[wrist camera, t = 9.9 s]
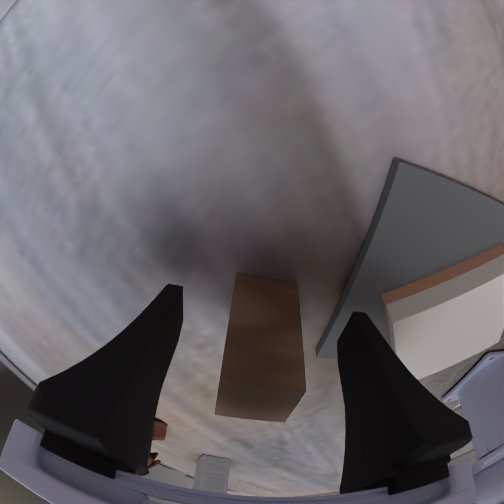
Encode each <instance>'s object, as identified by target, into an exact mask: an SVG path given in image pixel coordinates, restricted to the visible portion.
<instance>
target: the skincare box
mask: <svg viewBox="0 0 504 504" xmlns="http://www.w3.org/2000/svg"><path fill="white" fill-rule="evenodd" d="M229 464H230V460H229V459H226V458H220V457H214V456H209V455H202V456H201V457H200V459H199V460H198V461H197V464H196V470H195V477H194V485H193V489H194V490H200V491H206V492H213V493H221V494H227V485H228V475H229Z"/></svg>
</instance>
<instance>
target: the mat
mask: <svg viewBox="0 0 504 504" xmlns="http://www.w3.org/2000/svg"><path fill="white" fill-rule="evenodd" d="M500 244H502V245H503V246H504V203H502V202H500V201H498V200H496V199H494V198H492V197H490V196H488V195H486V194H484V193H482V192H480V191H478V190H475V189H473V188H471V187H469V186H467V185H464V184H462V183H460V182H457V181H455V180H453V179H450V178H448V177H445V176H443V175H440V174H438V173H435V172H433V171H430V170H428V169H425V168H422V167H419V166H417V165H414V164H411V163H408V162H405V161H402V160H400V159H397V158H394V160H393V163H392V166H391V169H390V172H389V176H388V179H387V182H386V185H385V188H384V191H383V194H382V197H381V199H380V202H379V205H378V208H377V211H376V213H375V216H374V219H373V222H372V224H371V227H370V230H369V232H368V235H367V237H366V240H365V242H364V245H363V247H362V250H361V252H360V255H359V257H358V260H357V262H356V264H355V267H354V269H353V272H352V274H351V276H350V278H349V281H348V283H347V285H346V288H345V290H344V292H343V294H342V296H341V299H340V301H339V303H338V305H337V307H336V309H335V311H334V313H333V316H332V318H331V320H330V322H329V324H328V326H327V328H326V330H325V332H324V334H323V336H322V338H321V340H320V342H319V344H318V346H317V348H316V357H325V358H338V357H337V340H338V338H339V337H340V335H341V333H342V331H343V329H344V328H345V326H346V324H347V322H348V320H349V318H350V316H351V315H352V313H353V311H356V312H365V313H366V314H367V315H368V316H369V318H370V319H371V320H372V322H373V323H374V324H375V326H376V327H377V329H378V330H379V332H380V333H381V334H382V336H383V337H384V339H385V340H386V341H387V343H388V344H389V338H388V331H387V324H386V318H385V312H384V306H383V301H382V295H381V294H384V293H386V292H389V291H392V290H395V289H397V288H400V287H403V286H405V285H408V284H410V283H413V282H415V281H418V280H421V279H423V278H426V277H428V276H430V275H433V274H435V273H438V272H440V271H443V270H445V269H447V268H450V267H452V266H454V265H457V264H459V263H461V262H463V261H466V260H468V259H470V258H472V257H474V256H477V255H479V254H481V253H483V252H485V251H487V250H489V249H491V248H493V247H495V246H497V245H500Z"/></svg>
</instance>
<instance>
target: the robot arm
mask: <svg viewBox="0 0 504 504" xmlns="http://www.w3.org/2000/svg"><path fill="white" fill-rule="evenodd" d="M182 323H183V286H178V285H172V284H168V285H166V286H165V287H164V288H163V290H162V291H161V292H160V293H159V294H158V295H157V297H156V298H155V299H154V300H153V301H152V302H151V303H150V304H149V305H148V306H147V307H146V308H145V310H144V311H143V312H142V313H141V314H140V315H139V316H138V317H137V318H136V319H135V320H134V321H133V322H131V323H130V324H129V325H128V326H127V327H126V328H125V329H124V330H123V331H122V332H121V333H119V334H118V335H117V336H116V337H115V338H113V339H112V340H111V341H110V342H108V343H107V344H106V345H105V346H103V347H102V348H100V349H99V350H98V351H96V352H95V353H93V354H92V355H90V356H89V357H87V358H86V359H84V360H83V361H81V362H79V363H77V364H76V365H74V366H72V367H70V368H69V369H67V370H65V371H63V372H61V373H59V374H57V375H55V376H52V377H50V378H48V379H46V380H44V381H41V382H40V383H39V385H38V386H37V388H36V389H35V392H34V394H33V396H32V398H31V400H30V403H29V405H28V407H27V412H28V413H29V415H30V416H31V417H32V418H33V419H34V420H35V421H36V422H37V423H38V424H40V425H41V426H42V427H43V428H44V429H45V432H44V435H42V434H41V433H39V432H38V431H36V430H34V429H33V428H31V427H29V426H27V425H26V424H24V423H22V422H21V421H19V420H17V419H16V420H15V421H14V424H13V426H12V428H11V431H10V433H9V436H8V438H7V441H6V444H5V447H4V449H3V452H2V455H1V458H0V469H1V470H2V471H4V472H5V473H6V474H8V475H9V476H11V477H12V478H13V479H15V480H16V481H18V482H19V483H21V484H22V485H23V486H25V487H26V488H28V489H30V490H31V491H33V492H34V493H35V494H37V495H39V496H40V497H42V498H43V499H45V500H47V501H48V502H50V503H51V504H161V503H158V502H154V501H150V500H149V498H148V497H147V496H146V495H148V496H152V497H155V498H159V499H163V500H168V501H172V502H177V503H181V504H504V351H500V352H490V353H487V354H486V355H485V356H484V357H483V358H482V359H481V360H480V362H479V363H478V364H477V365H476V366H475V367H474V368H473V369H472V370H471V371H470V372H469V373H468V374H467V375H466V376H465V377H464V378H463V379H462V380H461V381H460V382H459V383H458V384H457V385H456V386H455V387H454V388H453V389H452V390H451V391H450V392H449V393H448V394H446V395H445V396H444V397H443V398H442V402H443V403H444V402H450V401H456V400H460V403H461V406H462V409H463V412H464V415H465V419H464V418H463V417H461V416H460V415H458V414H456V413H455V412H453V411H452V410H451V409H449V408H448V407H447V406H445V405H444V404H443V403H442V402H440V401H439V400H438V399H437V398H436V397H435V396H433V395H432V394H431V393H430V392H429V391H428V390H427V389H426V388H425V387H424V386H423V385H422V384H421V383H420V382H419V381H418V380H417V379H416V378H415V377H414V376H413V374H412V373H411V372H410V371H409V370H408V369H407V368H406V366H405V365H404V364H403V363H402V361H401V360H400V359H399V358H398V356H397V355H396V354H395V352H394V351H393V350H392V348H391V347H390V345H389V344H388V343H387V341H386V340H385V339H384V337H383V336H382V334H381V333H380V332H379V330H378V329H377V327H376V326H375V324H374V323H373V322H372V320H371V319H370V318H369V316H368V315H367V314H366V313H365V312H356V311H353V313H352V315H351V316H350V318H349V320H348V322H347V324H346V326H345V328H344V329H343V331H342V333H341V335H340V337H339V338H338V340H337V357H338V367H339V373H340V379H341V385H342V391H343V398H344V404H345V422H346V435H345V455H344V466H343V473H342V480H341V485H340V494H337V495H328V496H313V497H255V496H240V495H230V494H221V493H213V492H206V491H200V490H194V489H188V488H183V487H178V486H174V485H169V484H165V483H161V482H157V481H153V480H149V479H145V478H142V477H138V476H135V475H132V474H129V473H133V474H142V473H144V472H146V471H147V465H148V457H149V449H150V443H151V436H152V430H153V425H154V420H155V415H156V410H157V405H158V401H159V396H160V392H161V389H162V385H163V382H164V379H165V376H166V374H167V371H168V368H169V365H170V363H171V360H172V357H173V354H174V351H175V349H176V346H177V343H178V340H179V336H180V332H181V327H182ZM471 440H472V444H473V447H474V452H475V455H476V460H479V461H477V462H475V463H473V464H472V468H471V463H470V460H469V459H468V460H466V461H463V462H460V463H458V464H455V465H453V466H451V467H448V466H447V463H448V462H450V461H451V458H450V454H452V453H453V452H455V451H457V450H458V449H460V448H462V447H463V446H465V445H466V444H468V443H469V442H470V441H471ZM128 472H129V473H128Z"/></svg>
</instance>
